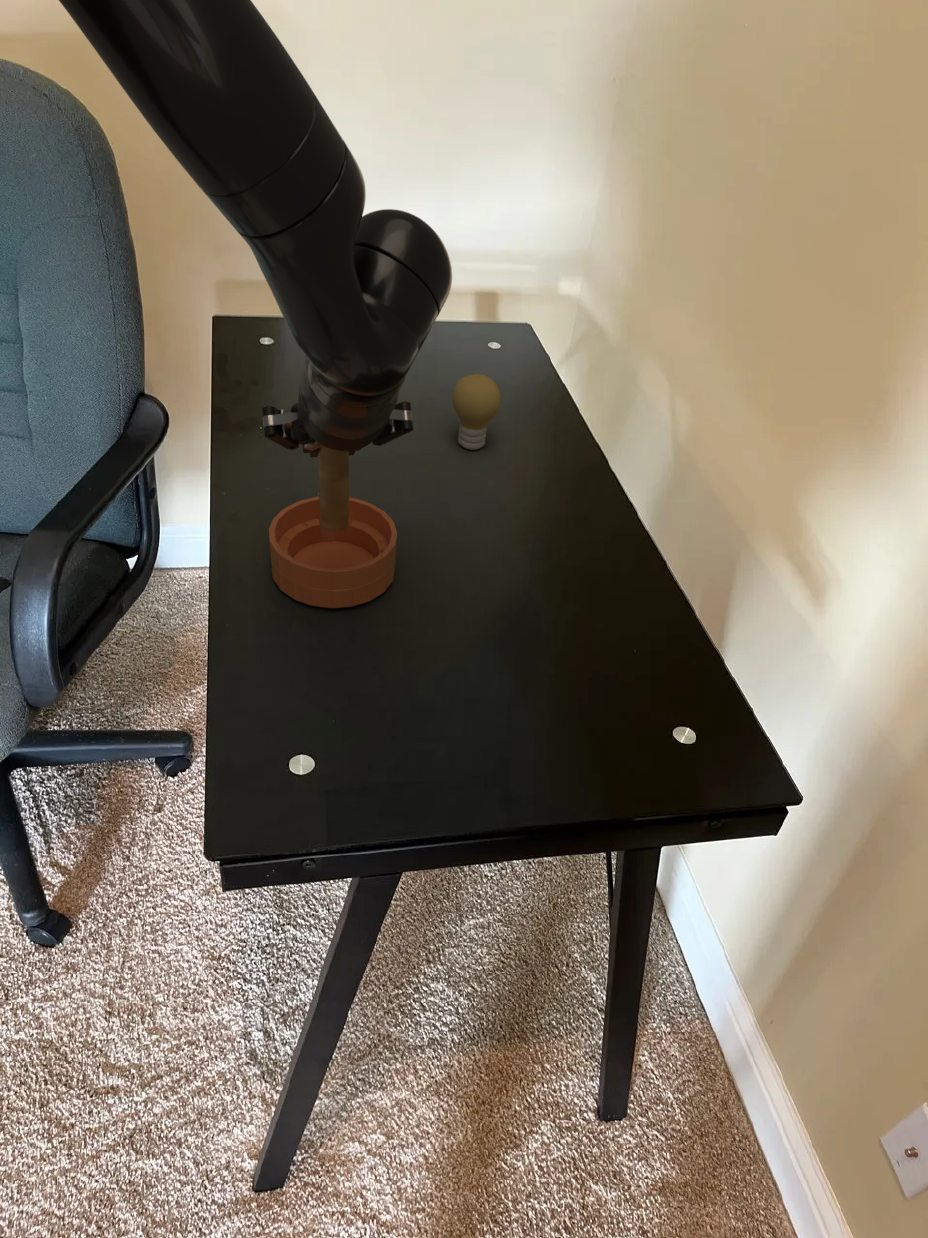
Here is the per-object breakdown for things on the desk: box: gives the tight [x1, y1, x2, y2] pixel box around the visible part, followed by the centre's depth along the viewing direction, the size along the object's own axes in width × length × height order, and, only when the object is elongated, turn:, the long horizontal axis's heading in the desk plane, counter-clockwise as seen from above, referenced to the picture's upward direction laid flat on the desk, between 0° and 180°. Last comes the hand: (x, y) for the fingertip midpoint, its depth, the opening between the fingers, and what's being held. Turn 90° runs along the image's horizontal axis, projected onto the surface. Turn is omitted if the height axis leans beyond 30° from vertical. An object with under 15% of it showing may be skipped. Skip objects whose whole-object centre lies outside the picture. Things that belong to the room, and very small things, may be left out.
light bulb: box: [451, 373, 502, 451], centre depth 110 cm, size 6×6×10 cm
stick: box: [317, 447, 350, 532], centre depth 82 cm, size 3×3×12 cm
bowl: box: [268, 496, 398, 609], centre depth 88 cm, size 13×13×6 cm
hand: (330, 446), depth 82 cm, fingers closed on stick, 3 cm apart
